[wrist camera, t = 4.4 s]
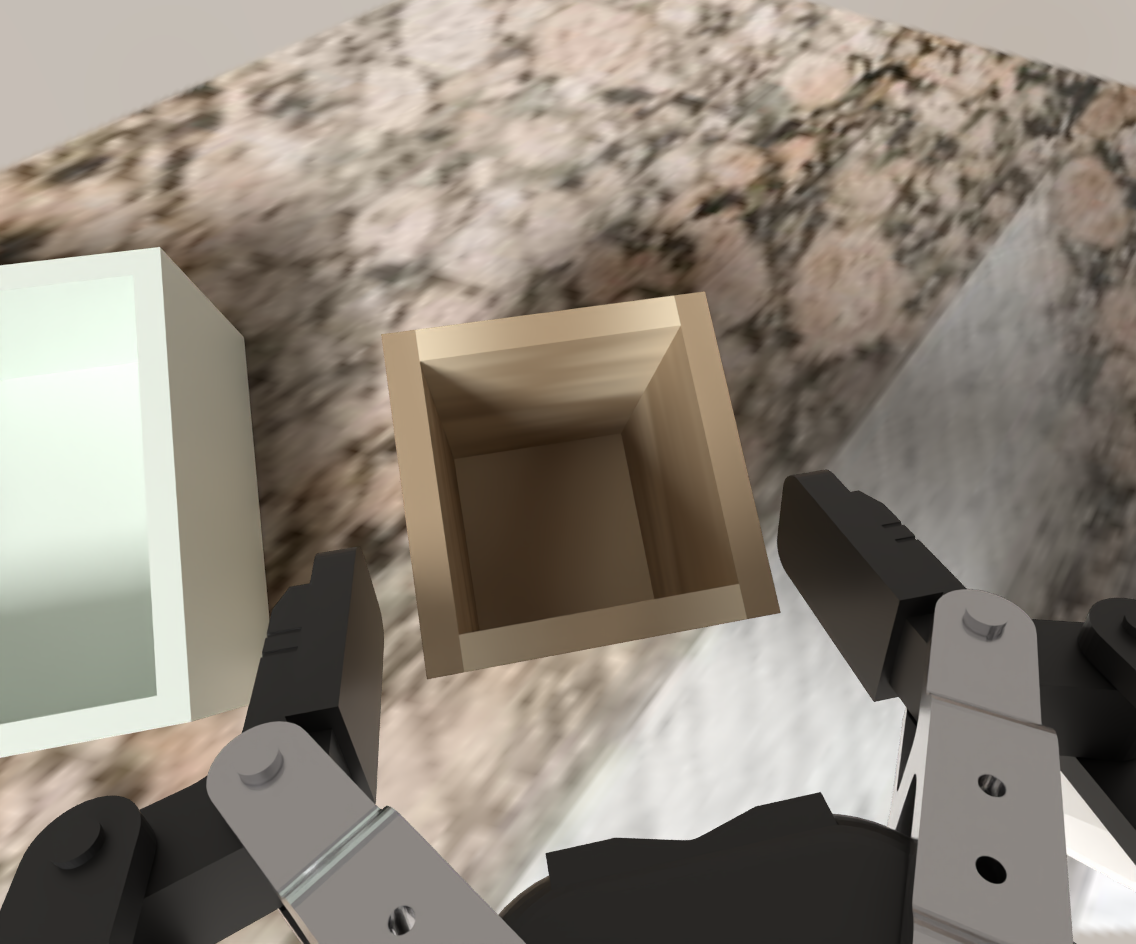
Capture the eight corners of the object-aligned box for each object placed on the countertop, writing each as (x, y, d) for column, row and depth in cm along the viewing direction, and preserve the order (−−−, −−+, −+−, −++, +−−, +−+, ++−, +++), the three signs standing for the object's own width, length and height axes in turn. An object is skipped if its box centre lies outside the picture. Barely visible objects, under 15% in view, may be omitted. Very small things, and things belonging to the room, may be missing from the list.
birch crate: (634, 416, 21) (704, 291, 13) (675, 618, 20) (780, 612, 12) (431, 447, 20) (380, 334, 12) (462, 658, 19) (426, 679, 11)
